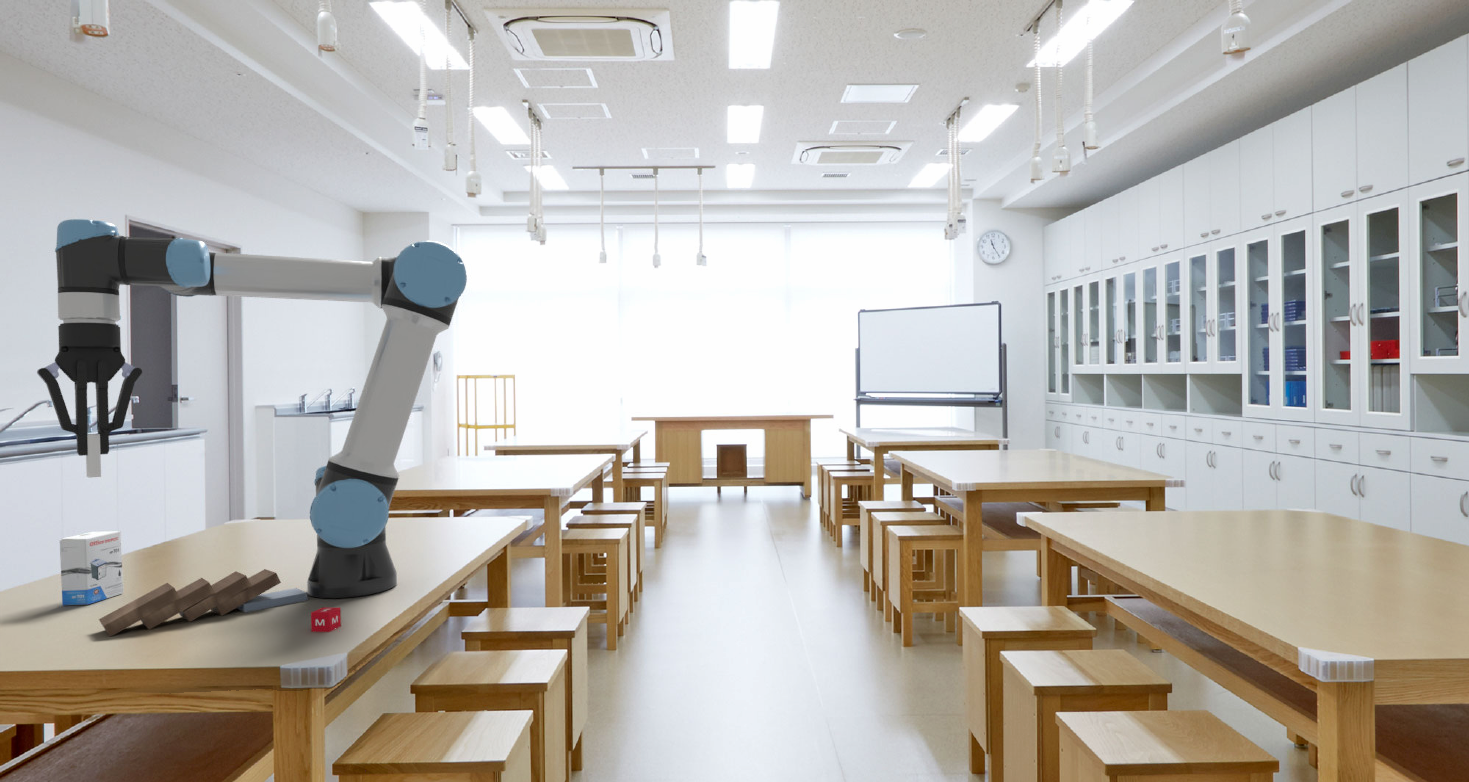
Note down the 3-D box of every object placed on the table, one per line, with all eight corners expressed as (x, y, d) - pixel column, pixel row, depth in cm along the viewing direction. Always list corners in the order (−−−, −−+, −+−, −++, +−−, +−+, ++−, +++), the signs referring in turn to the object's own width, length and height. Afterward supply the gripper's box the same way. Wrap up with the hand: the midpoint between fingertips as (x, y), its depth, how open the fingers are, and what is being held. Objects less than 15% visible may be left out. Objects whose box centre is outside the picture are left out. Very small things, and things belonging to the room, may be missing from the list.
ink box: (87, 605, 146) (85, 538, 146) (59, 606, 146) (57, 539, 146) (124, 593, 155) (123, 530, 155) (98, 593, 155) (96, 530, 155)
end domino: (105, 629, 131) (173, 592, 137) (110, 636, 128) (180, 598, 134) (98, 619, 131) (167, 582, 137) (103, 625, 127) (174, 587, 133)
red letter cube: (329, 632, 128) (329, 612, 128) (311, 631, 128) (310, 612, 128) (340, 626, 131) (340, 607, 131) (323, 626, 131) (322, 607, 131)
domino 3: (211, 610, 141) (269, 578, 148) (221, 615, 138) (281, 582, 145) (206, 600, 141) (264, 568, 148) (216, 605, 138) (276, 572, 145)
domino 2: (180, 616, 138) (241, 580, 145) (190, 621, 135) (251, 585, 141) (174, 606, 137) (235, 571, 144) (183, 611, 134) (245, 575, 141)
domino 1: (142, 623, 134) (207, 587, 141) (149, 629, 131) (215, 592, 137) (136, 613, 134) (201, 577, 140) (142, 619, 130) (209, 582, 137)
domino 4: (234, 610, 144) (296, 598, 151) (244, 616, 140) (307, 603, 148) (234, 599, 144) (296, 587, 151) (244, 604, 140) (307, 592, 148)
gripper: (137, 325, 135) (141, 471, 136) (32, 322, 126) (36, 478, 127) (145, 322, 130) (149, 474, 130) (36, 319, 121) (40, 482, 121)
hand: (93, 476), depth 128 cm, fingers closed
